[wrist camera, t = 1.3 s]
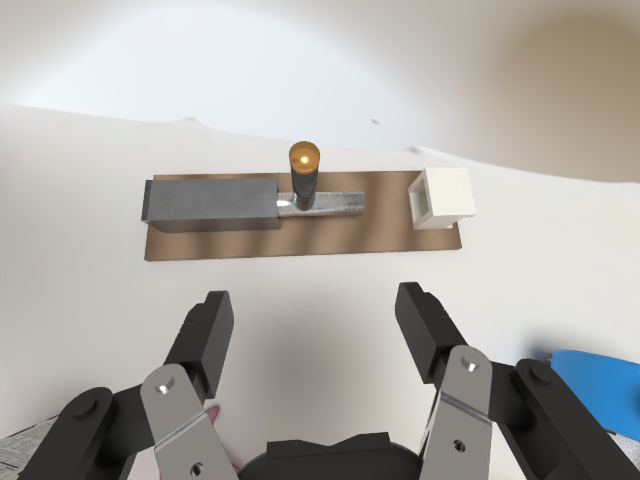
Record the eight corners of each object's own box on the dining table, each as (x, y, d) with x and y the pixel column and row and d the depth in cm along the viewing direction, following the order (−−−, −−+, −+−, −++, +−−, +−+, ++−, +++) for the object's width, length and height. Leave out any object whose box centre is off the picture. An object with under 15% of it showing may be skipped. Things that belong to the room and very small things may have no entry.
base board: (148, 261, 32) (144, 259, 31) (157, 178, 35) (153, 175, 34) (457, 249, 35) (462, 247, 34) (443, 173, 38) (447, 170, 37)
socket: (413, 229, 34) (433, 215, 29) (407, 188, 36) (425, 167, 31) (451, 228, 35) (477, 214, 30) (443, 187, 36) (467, 167, 31)
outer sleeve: (164, 233, 32) (141, 220, 28) (167, 197, 33) (146, 180, 29) (280, 229, 33) (277, 216, 29) (280, 195, 34) (276, 177, 30)
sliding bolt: (177, 222, 32) (106, 173, 20) (179, 200, 32) (111, 141, 21) (360, 217, 33) (391, 169, 22) (358, 196, 34) (387, 138, 22)
